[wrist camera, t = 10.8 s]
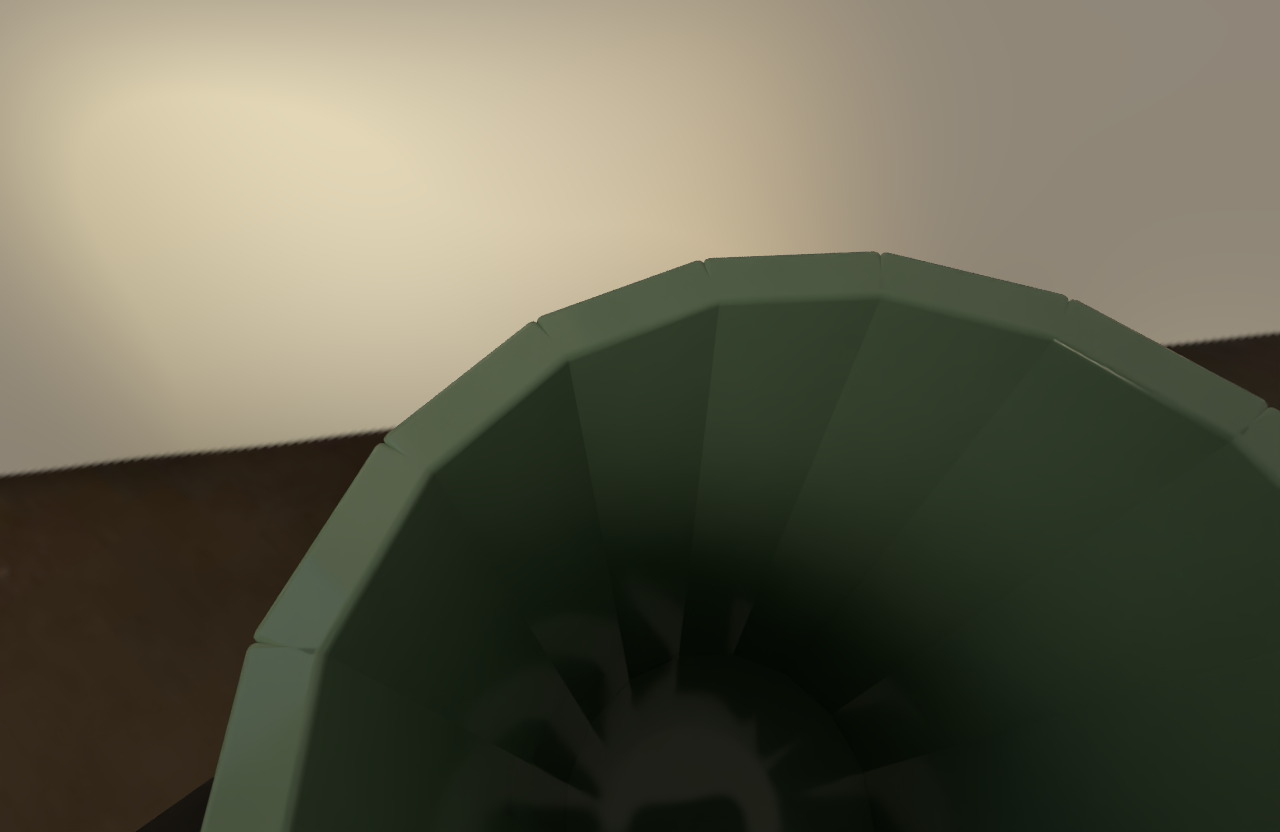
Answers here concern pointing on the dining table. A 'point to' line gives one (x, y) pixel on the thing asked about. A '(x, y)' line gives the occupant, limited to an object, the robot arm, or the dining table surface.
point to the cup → (788, 578)
